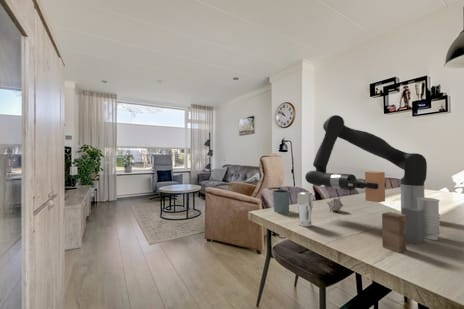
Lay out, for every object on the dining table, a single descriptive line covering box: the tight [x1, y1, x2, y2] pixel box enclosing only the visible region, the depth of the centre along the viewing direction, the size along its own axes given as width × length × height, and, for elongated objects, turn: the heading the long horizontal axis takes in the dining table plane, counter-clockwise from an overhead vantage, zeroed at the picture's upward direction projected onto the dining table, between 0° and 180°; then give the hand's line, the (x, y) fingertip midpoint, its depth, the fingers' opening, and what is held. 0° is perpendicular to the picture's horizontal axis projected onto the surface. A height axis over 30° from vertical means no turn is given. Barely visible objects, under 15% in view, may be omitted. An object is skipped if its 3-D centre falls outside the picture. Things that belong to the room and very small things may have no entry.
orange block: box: [364, 171, 386, 203], centre depth 88 cm, size 5×5×12 cm
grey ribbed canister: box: [416, 197, 441, 241], centre depth 84 cm, size 7×7×15 cm
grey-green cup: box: [272, 189, 291, 214], centre depth 124 cm, size 10×10×12 cm
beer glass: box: [296, 191, 314, 228], centre depth 100 cm, size 7×7×15 cm
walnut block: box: [381, 211, 407, 254], centre depth 74 cm, size 5×5×12 cm
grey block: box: [402, 207, 425, 245], centre depth 81 cm, size 5×5×12 cm
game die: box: [327, 196, 344, 213], centre depth 123 cm, size 9×8×10 cm
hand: (381, 185), depth 86 cm, fingers closed on orange block, 5 cm apart
